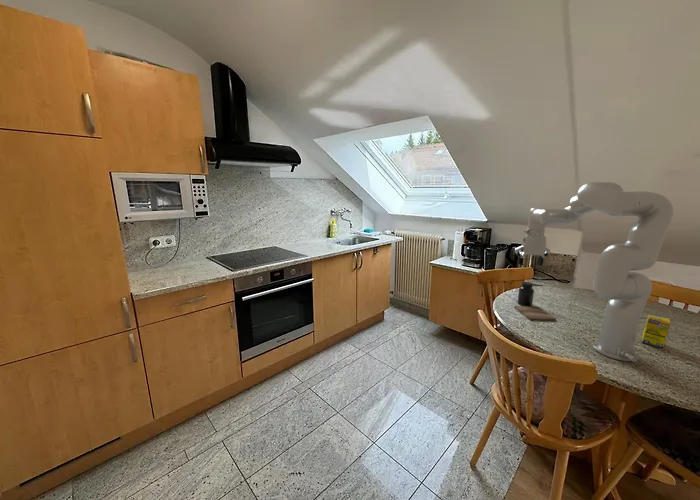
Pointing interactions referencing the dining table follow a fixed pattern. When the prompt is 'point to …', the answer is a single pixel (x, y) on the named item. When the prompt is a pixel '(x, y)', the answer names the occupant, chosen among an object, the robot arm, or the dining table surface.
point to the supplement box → (655, 331)
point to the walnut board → (534, 313)
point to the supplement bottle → (526, 294)
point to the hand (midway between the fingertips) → (529, 264)
